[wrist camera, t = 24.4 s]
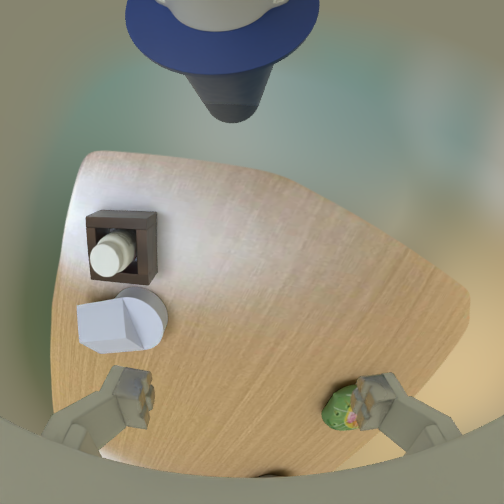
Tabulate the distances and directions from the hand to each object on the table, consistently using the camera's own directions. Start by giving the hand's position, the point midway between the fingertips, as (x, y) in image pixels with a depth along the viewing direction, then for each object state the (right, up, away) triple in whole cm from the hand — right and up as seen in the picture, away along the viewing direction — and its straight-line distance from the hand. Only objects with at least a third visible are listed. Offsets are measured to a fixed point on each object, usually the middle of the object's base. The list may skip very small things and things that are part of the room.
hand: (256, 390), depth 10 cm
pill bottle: (-17, +7, +28) cm, 33 cm away
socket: (-17, +7, +28) cm, 33 cm away
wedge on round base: (-19, -4, +31) cm, 37 cm away
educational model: (+20, -24, +39) cm, 50 cm away
